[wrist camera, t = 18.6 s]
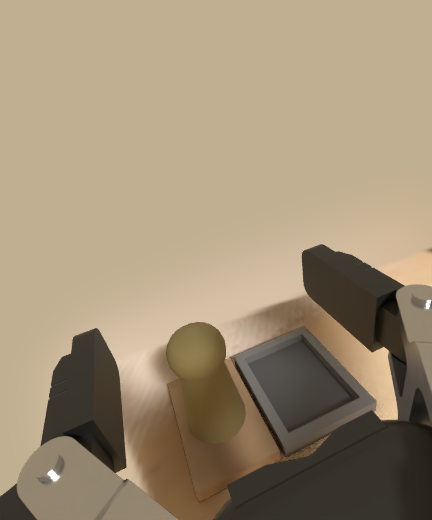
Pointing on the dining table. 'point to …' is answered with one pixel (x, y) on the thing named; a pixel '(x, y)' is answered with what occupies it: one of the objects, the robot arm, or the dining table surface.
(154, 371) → the dining table surface
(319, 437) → the shallow grey tray
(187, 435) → the light brown wooden board
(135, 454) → the dining table surface
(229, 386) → the cork
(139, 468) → the dining table surface
